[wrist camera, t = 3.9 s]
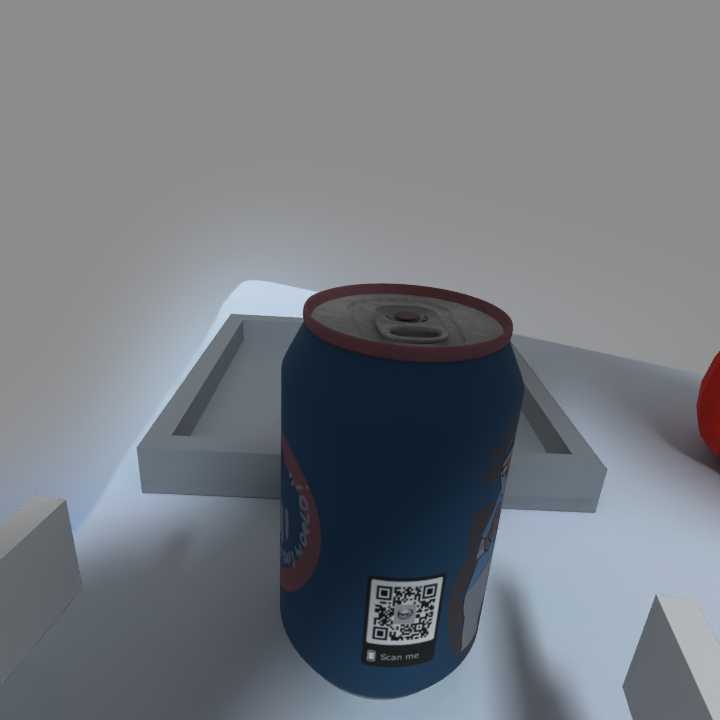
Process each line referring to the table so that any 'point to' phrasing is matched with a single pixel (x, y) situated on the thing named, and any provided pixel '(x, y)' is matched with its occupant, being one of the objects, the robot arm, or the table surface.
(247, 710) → the table surface
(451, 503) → the soda can
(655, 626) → the robot arm
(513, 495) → the tray
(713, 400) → the tomato
